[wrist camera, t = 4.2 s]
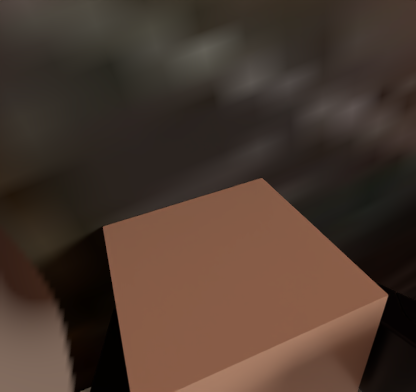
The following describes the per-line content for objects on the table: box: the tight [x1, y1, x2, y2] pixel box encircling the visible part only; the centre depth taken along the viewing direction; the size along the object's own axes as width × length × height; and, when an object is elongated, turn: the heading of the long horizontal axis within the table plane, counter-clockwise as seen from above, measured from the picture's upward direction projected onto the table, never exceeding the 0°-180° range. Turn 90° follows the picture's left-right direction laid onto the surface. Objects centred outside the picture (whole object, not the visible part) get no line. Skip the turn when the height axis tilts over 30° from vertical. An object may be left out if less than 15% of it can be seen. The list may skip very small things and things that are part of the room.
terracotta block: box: [103, 178, 388, 392], centre depth 9 cm, size 5×5×5 cm
